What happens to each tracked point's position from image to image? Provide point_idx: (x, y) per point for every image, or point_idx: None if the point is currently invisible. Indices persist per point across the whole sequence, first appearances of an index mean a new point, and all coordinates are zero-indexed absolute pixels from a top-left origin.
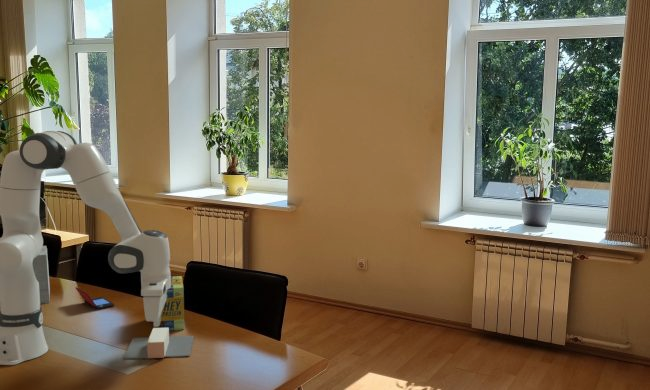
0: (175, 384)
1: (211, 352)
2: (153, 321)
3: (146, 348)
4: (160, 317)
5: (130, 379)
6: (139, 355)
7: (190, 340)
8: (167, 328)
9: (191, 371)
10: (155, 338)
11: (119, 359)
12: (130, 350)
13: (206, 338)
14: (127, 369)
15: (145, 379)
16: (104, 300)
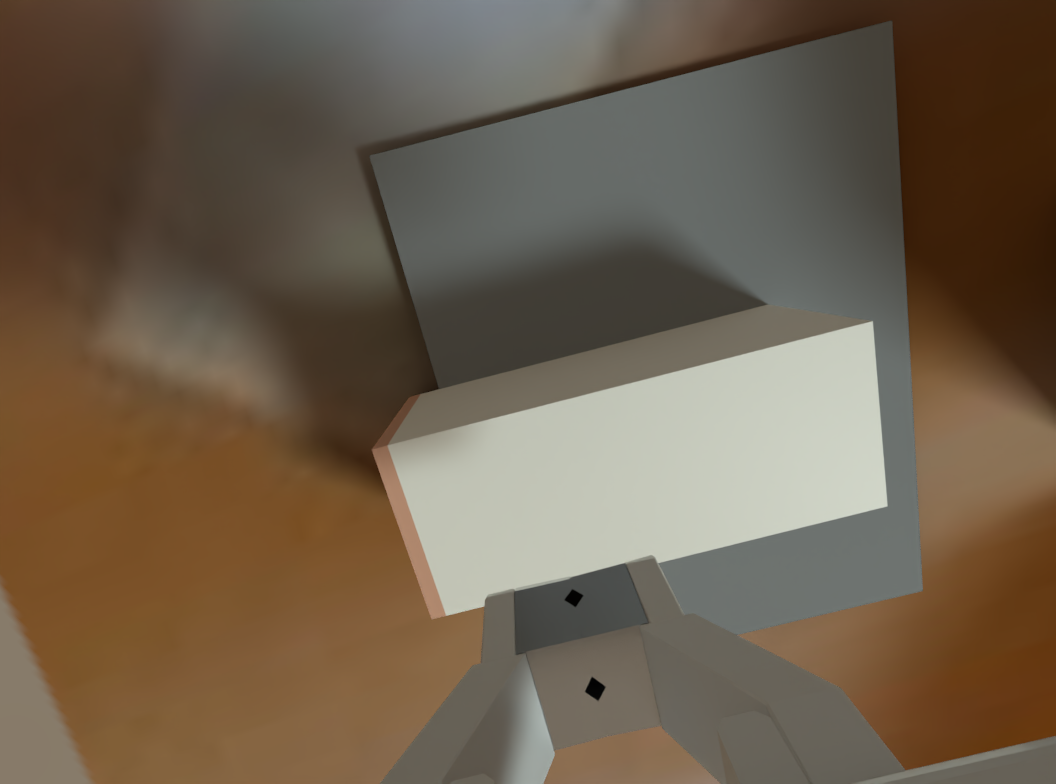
0: (69, 736)
1: (623, 780)
2: (483, 657)
3: (620, 294)
4: (679, 742)
5: (15, 409)
6: (452, 296)
7: (820, 598)
8: (853, 503)
9: (291, 761)
10: (520, 490)
11: (364, 117)
12: (555, 148)
13: (884, 675)
14: (181, 299)
15: (62, 521)
16: None
